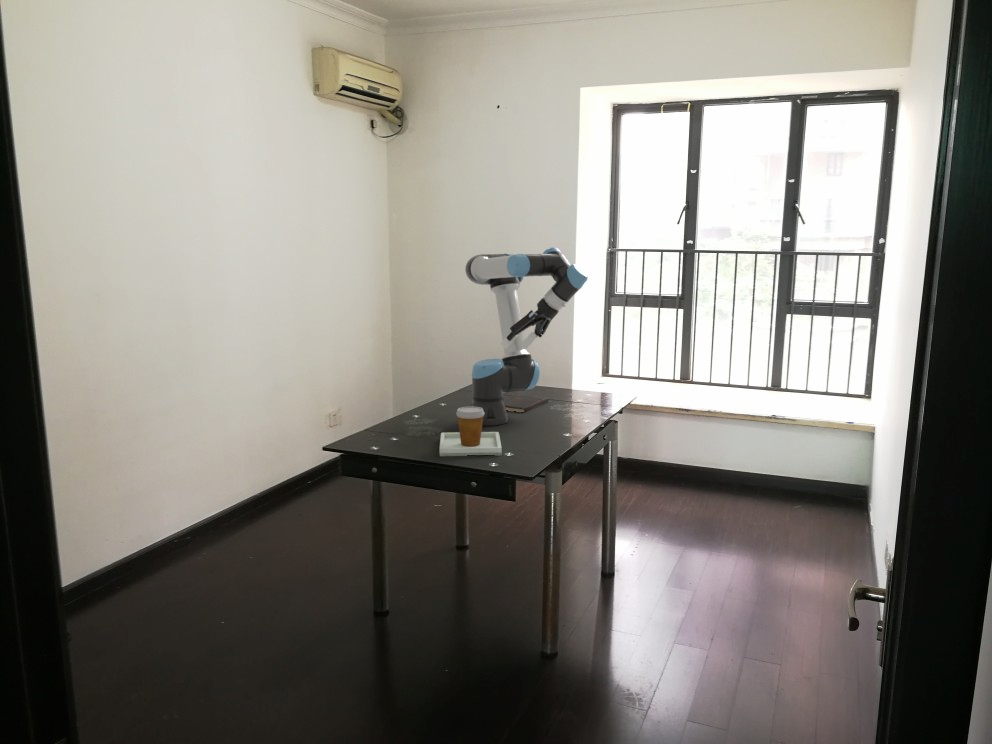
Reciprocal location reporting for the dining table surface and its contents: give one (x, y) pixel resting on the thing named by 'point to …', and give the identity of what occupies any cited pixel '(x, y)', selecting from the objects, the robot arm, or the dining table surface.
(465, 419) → the disposable coffee cup
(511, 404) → the hardcover book
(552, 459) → the dining table surface
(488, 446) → the tray
